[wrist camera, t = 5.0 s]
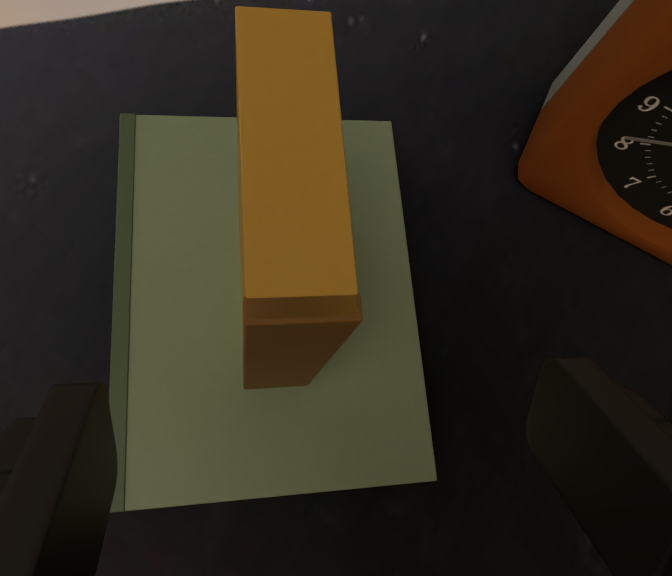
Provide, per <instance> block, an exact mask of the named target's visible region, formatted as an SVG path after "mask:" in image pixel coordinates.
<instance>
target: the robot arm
mask: <svg viewBox="0 0 672 576" xmlns="http://www.w3.org/2000/svg"><path fill="white" fill-rule="evenodd" d="M526 435H527V440H528V444H529V447H530V449H531V451H532V453H533V455H534V456H535V458H536V459H537V461H538V462H539V464H540V465H541V467H542V468H543V470H544V471H545V473H546V474H547V476H548V477H549V479H550V480H551V482H552V483H553V485H554V487H555V488H556V490H557V491H558V493H559V494H560V496H561V497H562V499H563V500H564V502H565V503H566V505H567V506H568V508H569V509H570V511H571V512H572V514H573V515H574V517H575V518H576V520H577V521H578V523H579V524H580V526H581V527H582V529H583V530H584V532H585V533H586V535H587V536H588V538H589V539H590V541H591V542H592V544H593V545H594V547H595V548H596V550H597V551H598V553H599V554H600V556H601V557H602V559H603V560H604V562H605V563H606V565H607V566H608V568H609V569H610V571H611V572H612V574H613V575H614V576H672V424H671V423H670V422H666V421H665V417H664V416H663V415H662V414H661V413H660V412H659V411H658V410H657V409H656V408H654V407H653V406H652V405H651V404H650V403H649V402H648V401H647V400H646V399H645V398H644V397H642V396H641V395H639V394H637V393H636V392H634V391H632V390H631V389H629V388H627V387H626V386H624V385H622V384H621V383H619V382H617V381H614V380H613V379H612V378H611V377H610V376H609V375H608V374H607V373H606V372H605V371H604V370H603V369H602V368H601V367H600V366H599V365H598V364H597V363H596V362H595V361H594V360H593V359H591V358H589V357H570V358H552V359H548V360H546V361H545V362H544V364H543V365H542V368H541V371H540V374H539V378H538V382H537V385H536V389H535V392H534V396H533V399H532V403H531V407H530V410H529V414H528V417H527V422H526ZM117 470H118V459H117V448H116V442H115V437H114V431H113V425H112V419H111V413H110V407H109V402H108V396H107V391H106V387H105V385H104V383H102V382H95V383H77V384H58V385H53V386H52V387H51V389H50V391H49V393H48V395H47V397H46V399H45V401H44V403H43V405H42V408H41V410H40V412H39V414H38V416H37V417H33V418H18V419H16V420H14V421H13V422H12V423H11V424H10V425H9V426H8V427H7V428H6V429H4V430H3V431H2V432H1V433H0V576H95V573H96V569H97V565H98V560H99V556H100V552H101V548H102V543H103V539H104V535H105V531H106V526H107V522H108V518H109V514H110V509H111V505H112V501H113V497H114V492H115V488H116V482H117Z"/></svg>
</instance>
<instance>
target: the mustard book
mask: <svg viewBox="0 0 672 576" xmlns="http://www.w3.org/2000/svg"><path fill="white" fill-rule="evenodd" d="M235 38H236V95H237V152H238V204H239V235H240V266H241V296H242V327H243V388H244V389H245V390H247V389H263V388H279V387H295V386H307V385H308V384H309V383H310V382H311V381H312V380H313V378H314V377H315V376H316V375H317V374H318V373H319V371H320V370H321V369H322V368H323V367H324V366H325V364H326V363H327V362H328V361H329V360H330V358H331V357H332V356H333V355H334V354H335V353H336V351H337V350H338V349H339V348H340V347H341V346H342V344H343V343H344V342H345V341H346V340H347V339H348V337H349V336H350V335H351V334H352V333H353V331H354V330H355V329H356V328H357V327H358V326H359V324H360V323H361V322H362V320H363V316H362V306H361V295H360V293H358V283H357V273H356V263H355V252H354V242H353V232H352V222H351V212H350V201H349V191H348V181H347V171H346V161H345V150H344V140H343V130H342V120H341V109H340V99H339V89H338V79H337V69H336V58H335V48H334V38H333V28H332V18H331V13H330V12H323V11H306V10H290V9H273V8H257V7H240V6H236V7H235Z"/></svg>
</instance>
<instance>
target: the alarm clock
mask: <svg viewBox="0 0 672 576" xmlns="http://www.w3.org/2000/svg"><path fill="white" fill-rule="evenodd" d="M518 180H519V181H520V182H521V183H522V184H523V185H524V186H525V187H526V188H527V189H528V190H529V191H531V192H533V193H535V194H537V195H539V196H541V197H543V198H545V199H547V200H548V201H550V202H552V203H554V204H556V205H558V206H560V207H562V208H564V209H566V210H568V211H569V212H571V213H573V214H575V215H577V216H579V217H581V218H583V219H585V220H587V221H588V222H590V223H592V224H594V225H596V226H598V227H600V228H602V229H604V230H606V231H607V232H609V233H611V234H613V235H615V236H617V237H619V238H621V239H623V240H624V241H626V242H628V243H630V244H632V245H634V246H636V247H638V248H640V249H642V250H643V251H645V252H647V253H649V254H651V255H653V256H655V257H657V258H659V259H661V260H663V261H664V262H666V263H668V264H670V265H672V0H620V1H619V2H618V3H617V4H616V6H615V7H614V8H613V9H612V10H611V12H610V13H609V14H608V15H607V17H606V18H605V19H604V20H603V21H602V23H601V24H600V25H599V26H598V28H597V29H596V30H595V31H594V33H593V34H592V35H591V36H590V38H589V39H588V40H587V41H586V42H585V44H584V45H583V46H582V47H581V49H580V50H579V51H578V52H577V54H576V55H575V56H574V57H573V58H572V60H571V61H570V62H569V63H568V65H567V66H566V67H565V68H564V69H563V71H562V72H561V73H560V74H559V75H558V77H557V78H556V79H555V80H554V82H553V83H552V85H551V88H550V90H549V92H548V95H547V97H546V99H545V102H544V104H543V106H542V110H541V111H540V113H539V116H538V118H537V120H536V123H535V125H534V127H533V130H532V132H531V135H530V137H529V139H528V142H527V144H526V146H525V149H524V151H523V153H522V156H521V158H520V160H519V163H518Z"/></svg>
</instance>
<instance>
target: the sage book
mask: <svg viewBox="0 0 672 576" xmlns="http://www.w3.org/2000/svg"><path fill="white" fill-rule="evenodd" d="M342 130H343V140H344V150H345V161H346V171H347V181H348V191H349V201H350V212H351V222H352V232H353V242H354V252H355V263H356V273H357V283H358V293H360V295H361V306H362V316H363V320H362V322H361V323H360V324H359V326H358V327H357V328H356V329H355V330H354V331H353V333H352V334H351V335H350V336H349V337H348V339H347V340H346V341H345V342H344V343H343V344H342V346H341V347H340V348H339V349H338V350H337V351H336V353H335V354H334V355H333V356H332V357H331V358H330V360H329V361H328V362H327V363H326V364H325V366H324V367H323V368H322V369H321V370H320V371H319V373H318V374H317V375H316V376H315V377H314V378H313V380H312V381H311V382H310V383H309V384H308V385H307V386H295V387H279V388H263V389H247V390H245V389H244V388H243V327H242V296H241V266H240V235H239V204H238V152H237V118H236V117H196V116H156V115H136V114H128V113H120V130H119V156H118V181H117V207H116V233H115V259H114V285H113V311H112V337H111V363H110V389H109V407H110V413H111V419H112V425H113V431H114V437H115V442H116V448H117V459H118V470H117V482H116V488H115V492H114V497H113V501H112V505H111V509H110V513H114V512H123V511H132V510H143V509H153V508H163V507H173V506H184V505H194V504H204V503H214V502H224V501H235V500H245V499H255V498H265V497H275V496H286V495H296V494H306V493H316V492H327V491H337V490H347V489H357V488H367V487H378V486H388V485H398V484H408V483H418V482H429V481H436V480H437V475H436V467H435V459H434V452H433V444H432V436H431V428H430V421H429V413H428V405H427V397H426V389H425V382H424V374H423V366H422V358H421V350H420V343H419V335H418V327H417V319H416V311H415V304H414V296H413V288H412V280H411V272H410V265H409V257H408V249H407V241H406V234H405V226H404V218H403V210H402V202H401V195H400V187H399V179H398V171H397V163H396V156H395V148H394V140H393V132H392V124H391V121H356V120H342Z"/></svg>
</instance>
